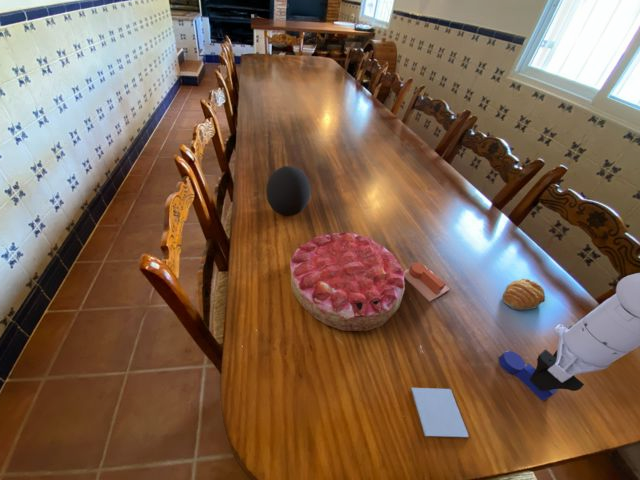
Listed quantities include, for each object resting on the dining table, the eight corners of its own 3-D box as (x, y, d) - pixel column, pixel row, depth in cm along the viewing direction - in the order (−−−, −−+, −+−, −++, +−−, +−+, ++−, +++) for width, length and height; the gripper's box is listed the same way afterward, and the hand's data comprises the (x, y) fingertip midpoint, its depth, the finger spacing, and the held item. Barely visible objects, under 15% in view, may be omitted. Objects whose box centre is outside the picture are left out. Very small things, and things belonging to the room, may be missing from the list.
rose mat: (449, 290, 69) (449, 289, 69) (429, 302, 67) (430, 301, 66) (419, 264, 75) (419, 263, 75) (399, 273, 72) (400, 272, 72)
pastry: (521, 319, 65) (531, 309, 62) (492, 296, 69) (501, 285, 67) (543, 302, 69) (553, 292, 66) (514, 281, 73) (523, 271, 71)
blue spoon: (550, 393, 53) (561, 386, 51) (540, 404, 52) (551, 397, 50) (505, 352, 59) (513, 344, 57) (494, 360, 57) (502, 353, 55)
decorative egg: (308, 202, 92) (315, 160, 83) (305, 229, 83) (312, 184, 73) (269, 197, 93) (271, 154, 83) (262, 223, 83) (263, 177, 74)
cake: (423, 323, 61) (435, 298, 56) (306, 345, 57) (308, 321, 52) (372, 243, 80) (378, 220, 76) (282, 256, 76) (282, 232, 71)
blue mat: (449, 389, 52) (450, 388, 52) (468, 437, 47) (469, 437, 47) (411, 388, 52) (411, 387, 52) (424, 436, 47) (425, 435, 46)
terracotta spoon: (443, 290, 69) (448, 282, 67) (433, 296, 67) (438, 288, 65) (415, 265, 74) (419, 257, 72) (405, 270, 73) (409, 262, 71)
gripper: (596, 292, 48) (544, 335, 56) (552, 331, 42) (501, 372, 50) (653, 328, 43) (586, 369, 52) (612, 378, 37) (545, 414, 46)
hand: (547, 373), depth 51 cm, fingers open, 7 cm apart
